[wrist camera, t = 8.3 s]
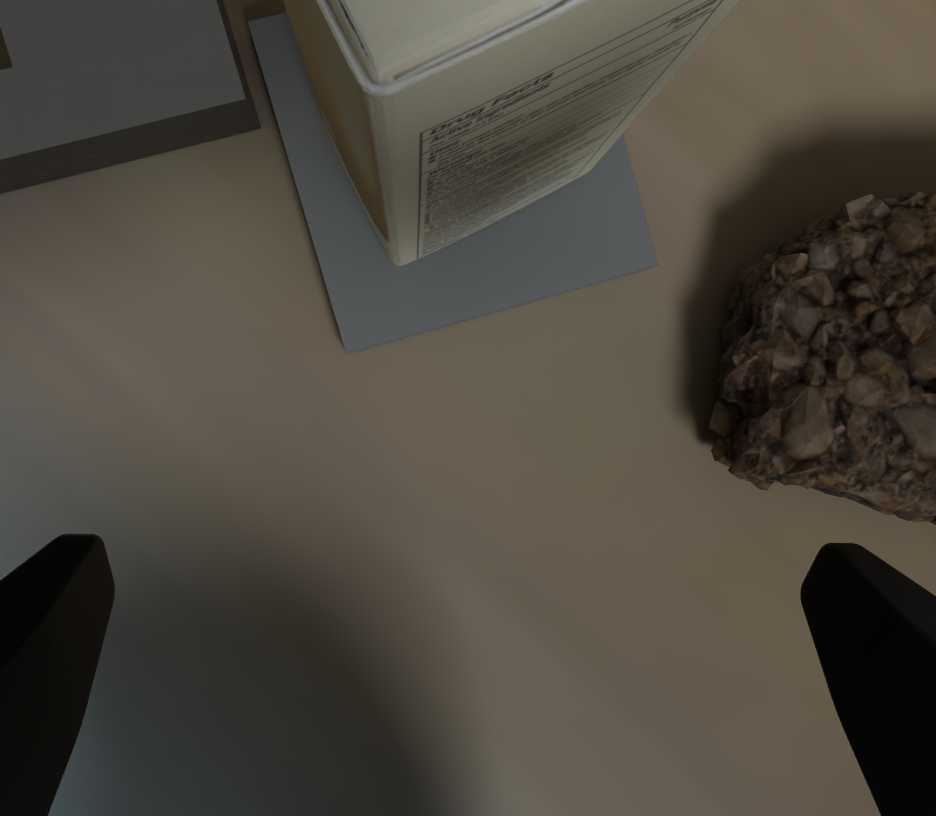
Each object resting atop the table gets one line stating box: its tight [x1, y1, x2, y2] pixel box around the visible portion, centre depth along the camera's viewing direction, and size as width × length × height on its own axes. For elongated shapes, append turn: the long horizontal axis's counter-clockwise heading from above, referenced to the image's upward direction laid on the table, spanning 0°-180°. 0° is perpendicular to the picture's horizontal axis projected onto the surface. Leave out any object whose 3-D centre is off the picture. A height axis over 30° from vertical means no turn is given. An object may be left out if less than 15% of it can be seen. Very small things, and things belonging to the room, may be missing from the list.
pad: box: [248, 12, 658, 354], centre depth 20 cm, size 9×9×1 cm
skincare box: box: [283, 0, 740, 266], centre depth 13 cm, size 6×4×12 cm
